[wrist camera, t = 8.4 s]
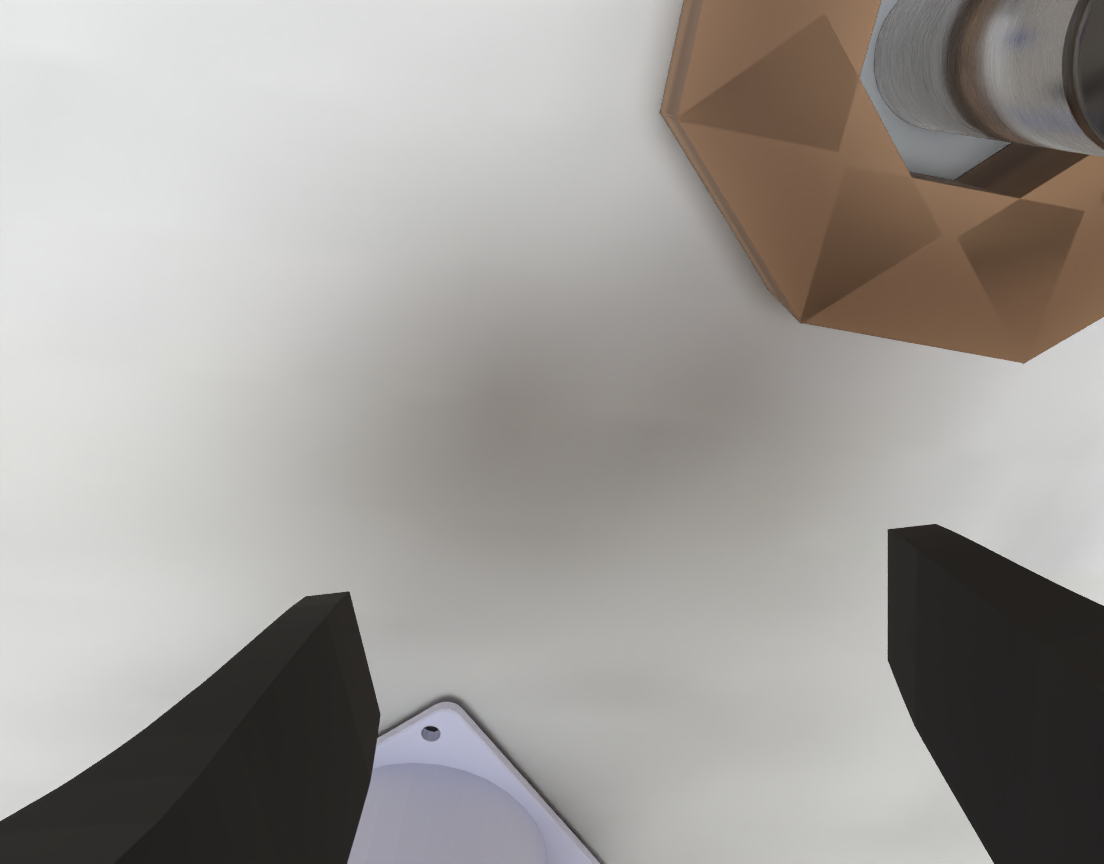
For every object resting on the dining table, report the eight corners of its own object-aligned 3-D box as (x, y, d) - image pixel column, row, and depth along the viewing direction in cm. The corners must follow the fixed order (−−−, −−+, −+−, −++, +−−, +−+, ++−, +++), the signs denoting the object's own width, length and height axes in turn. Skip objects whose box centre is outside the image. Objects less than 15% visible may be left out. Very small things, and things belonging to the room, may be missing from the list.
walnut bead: (835, 400, 21) (877, 449, 19) (573, -29, 18) (575, -48, 15) (1303, 118, 19) (1431, 127, 16) (1098, -434, 16) (1214, -543, 13)
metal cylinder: (916, 159, 19) (1138, 213, 12) (847, 34, 18) (1042, 9, 11) (1047, 70, 19) (1368, 70, 11) (982, -63, 18) (1285, -158, 10)
